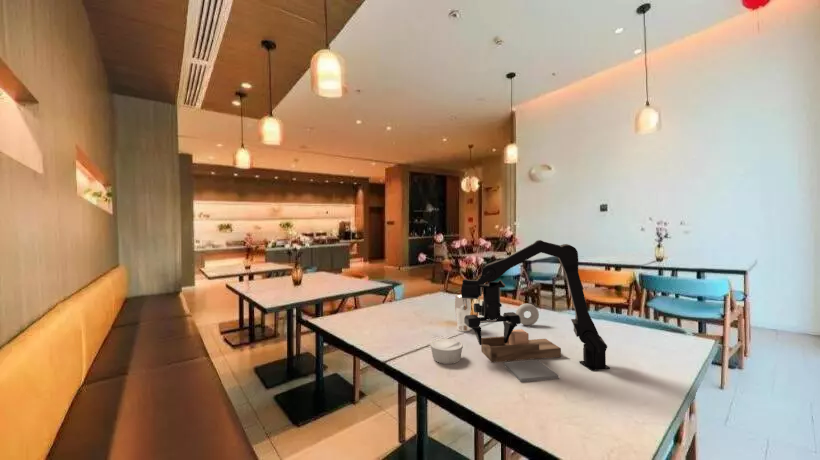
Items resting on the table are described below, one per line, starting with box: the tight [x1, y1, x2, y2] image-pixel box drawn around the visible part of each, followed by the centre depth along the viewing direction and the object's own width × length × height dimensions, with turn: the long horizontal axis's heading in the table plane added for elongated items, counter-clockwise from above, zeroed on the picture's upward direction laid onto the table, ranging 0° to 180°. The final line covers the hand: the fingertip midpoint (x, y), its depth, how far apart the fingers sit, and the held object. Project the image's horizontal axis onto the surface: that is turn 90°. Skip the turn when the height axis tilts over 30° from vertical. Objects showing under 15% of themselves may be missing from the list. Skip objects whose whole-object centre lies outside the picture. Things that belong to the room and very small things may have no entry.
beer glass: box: [454, 293, 472, 333], centre depth 149 cm, size 7×7×15 cm
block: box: [509, 329, 530, 345], centre depth 120 cm, size 5×5×5 cm
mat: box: [503, 359, 560, 383], centre depth 106 cm, size 12×12×1 cm
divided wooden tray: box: [480, 335, 562, 363], centre depth 120 cm, size 10×25×5 cm, turn 98°
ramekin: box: [429, 338, 464, 365], centre depth 118 cm, size 11×11×5 cm
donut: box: [515, 303, 540, 327], centre depth 153 cm, size 10×4×10 cm, turn 84°
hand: (492, 343), depth 119 cm, fingers open, 9 cm apart
